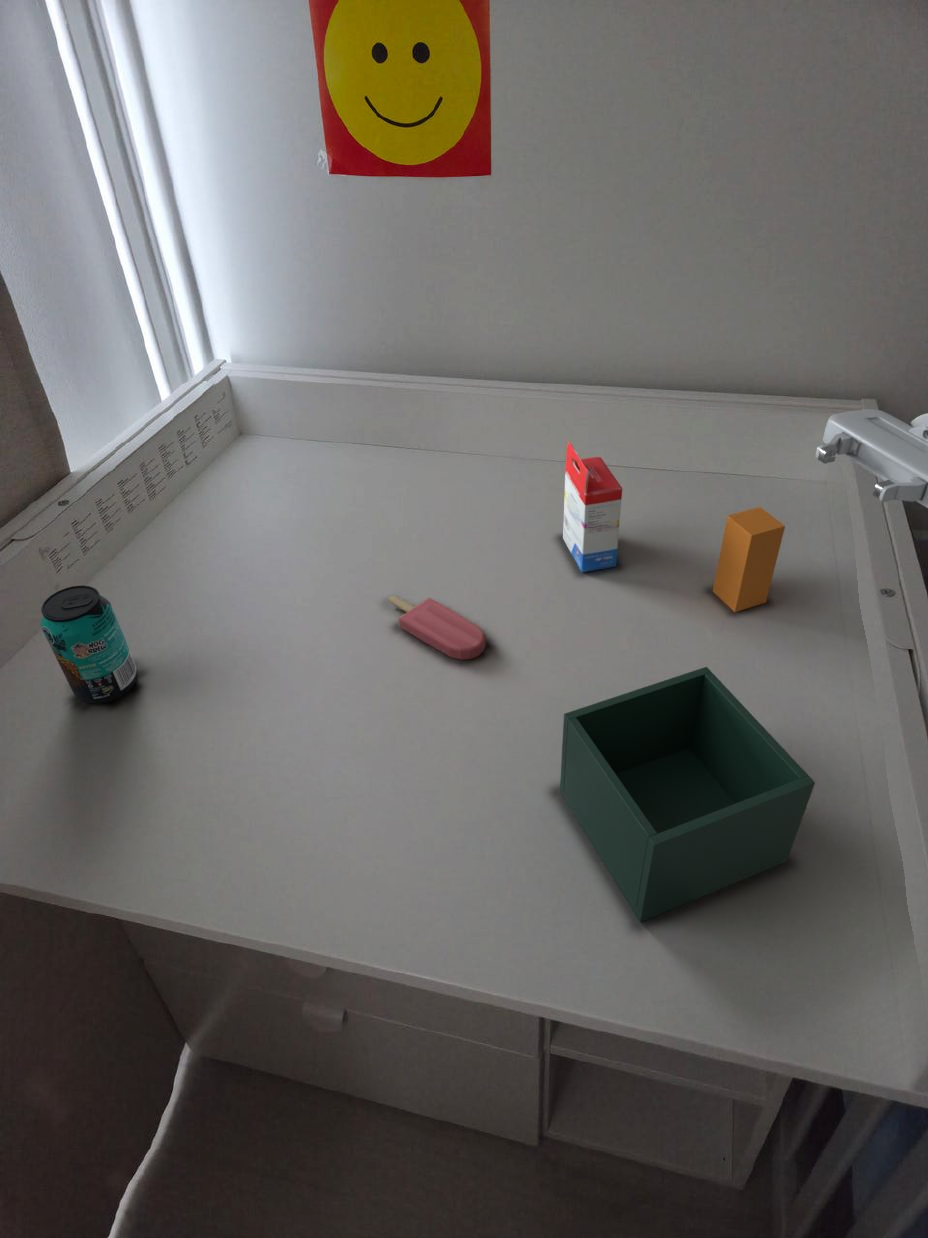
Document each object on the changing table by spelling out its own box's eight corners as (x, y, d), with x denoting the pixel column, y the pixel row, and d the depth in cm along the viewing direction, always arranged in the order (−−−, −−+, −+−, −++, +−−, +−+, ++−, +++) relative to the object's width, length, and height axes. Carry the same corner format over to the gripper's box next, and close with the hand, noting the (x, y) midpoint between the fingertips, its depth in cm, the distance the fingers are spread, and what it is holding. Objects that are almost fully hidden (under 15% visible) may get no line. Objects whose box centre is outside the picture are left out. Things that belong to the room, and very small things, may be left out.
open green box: (786, 861, 71) (815, 782, 64) (640, 922, 67) (654, 845, 60) (690, 745, 81) (706, 666, 74) (559, 792, 77) (563, 713, 70)
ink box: (617, 568, 104) (627, 466, 95) (580, 574, 104) (586, 472, 94) (595, 532, 111) (602, 434, 101) (560, 537, 110) (564, 439, 101)
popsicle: (405, 582, 101) (495, 633, 93) (406, 592, 102) (495, 644, 94) (373, 603, 98) (463, 657, 90) (375, 613, 99) (464, 667, 91)
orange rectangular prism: (766, 602, 98) (785, 525, 91) (734, 612, 97) (751, 535, 90) (743, 582, 101) (760, 506, 94) (712, 591, 100) (727, 515, 93)
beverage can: (77, 671, 93) (38, 589, 86) (140, 658, 95) (107, 575, 87) (72, 713, 88) (30, 629, 80) (139, 699, 89) (103, 615, 82)
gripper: (884, 389, 102) (794, 411, 99) (1025, 462, 87) (925, 491, 84) (870, 434, 106) (783, 457, 103) (1003, 511, 91) (906, 541, 88)
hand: (848, 473), depth 93 cm, fingers open, 8 cm apart
